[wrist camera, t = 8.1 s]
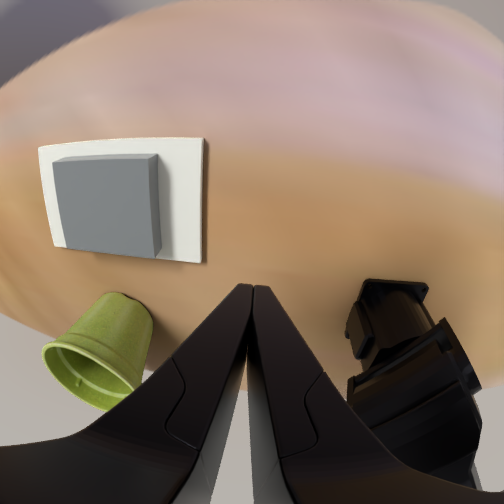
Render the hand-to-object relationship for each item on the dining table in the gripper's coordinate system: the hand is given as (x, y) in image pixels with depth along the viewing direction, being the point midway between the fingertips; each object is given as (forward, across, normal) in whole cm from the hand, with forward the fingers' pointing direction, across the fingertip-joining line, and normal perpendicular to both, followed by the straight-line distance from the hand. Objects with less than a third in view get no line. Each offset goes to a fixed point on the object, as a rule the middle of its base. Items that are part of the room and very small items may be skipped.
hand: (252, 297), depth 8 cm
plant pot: (+12, +12, +14) cm, 22 cm away
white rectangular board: (+12, +11, +2) cm, 16 cm away
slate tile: (+11, +7, +2) cm, 13 cm away
